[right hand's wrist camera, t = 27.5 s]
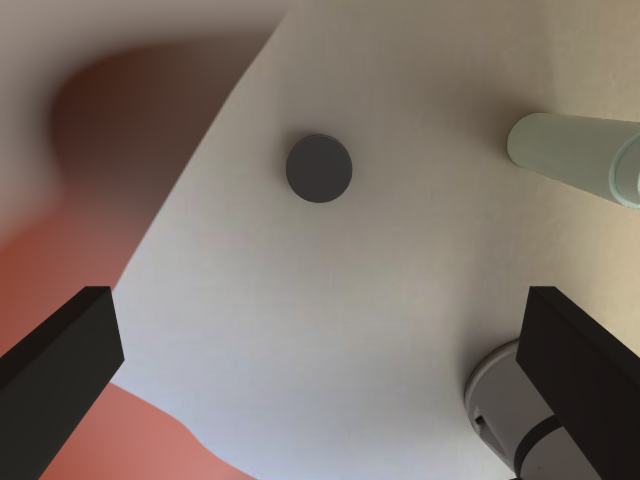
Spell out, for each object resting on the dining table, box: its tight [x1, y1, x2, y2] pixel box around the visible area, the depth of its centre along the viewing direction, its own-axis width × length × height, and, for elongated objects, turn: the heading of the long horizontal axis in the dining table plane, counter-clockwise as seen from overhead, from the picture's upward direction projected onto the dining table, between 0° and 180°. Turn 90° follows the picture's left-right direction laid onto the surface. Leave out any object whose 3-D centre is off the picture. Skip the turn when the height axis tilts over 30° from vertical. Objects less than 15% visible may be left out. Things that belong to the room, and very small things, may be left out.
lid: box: [286, 135, 352, 203], centre depth 37 cm, size 6×6×2 cm
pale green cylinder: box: [507, 112, 640, 209], centre depth 29 cm, size 5×5×16 cm
